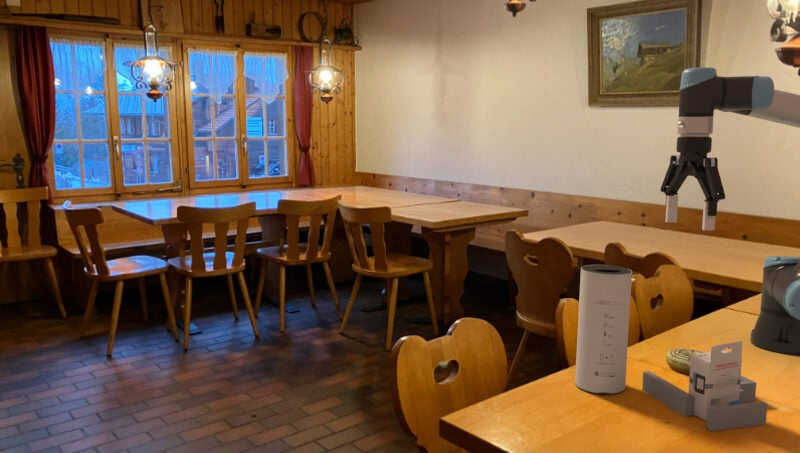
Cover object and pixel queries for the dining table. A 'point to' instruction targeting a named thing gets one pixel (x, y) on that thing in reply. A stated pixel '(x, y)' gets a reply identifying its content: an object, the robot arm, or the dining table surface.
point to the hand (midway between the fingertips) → (688, 226)
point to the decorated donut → (680, 359)
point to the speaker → (603, 328)
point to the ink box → (715, 378)
